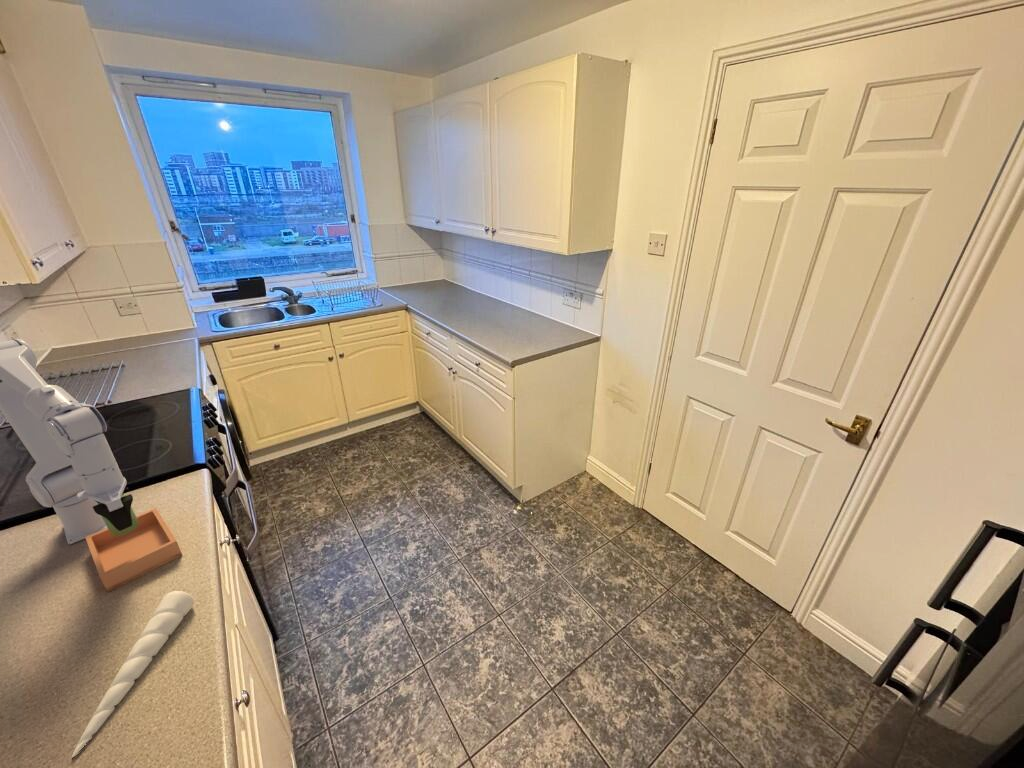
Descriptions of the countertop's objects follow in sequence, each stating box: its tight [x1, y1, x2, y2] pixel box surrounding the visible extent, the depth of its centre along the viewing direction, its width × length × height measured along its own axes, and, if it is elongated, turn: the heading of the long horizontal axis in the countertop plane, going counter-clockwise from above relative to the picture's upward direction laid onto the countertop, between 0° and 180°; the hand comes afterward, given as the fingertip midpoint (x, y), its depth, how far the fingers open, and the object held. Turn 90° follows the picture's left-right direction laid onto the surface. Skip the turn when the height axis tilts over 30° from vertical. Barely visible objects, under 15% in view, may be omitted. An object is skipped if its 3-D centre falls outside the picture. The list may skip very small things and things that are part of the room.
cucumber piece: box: [98, 494, 139, 536], centre depth 85 cm, size 4×4×7 cm
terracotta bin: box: [85, 507, 183, 593], centre depth 88 cm, size 16×12×4 cm
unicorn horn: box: [71, 590, 195, 757], centre depth 66 cm, size 5×24×5 cm, turn 1°
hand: (122, 522), depth 85 cm, fingers closed on cucumber piece, 4 cm apart
